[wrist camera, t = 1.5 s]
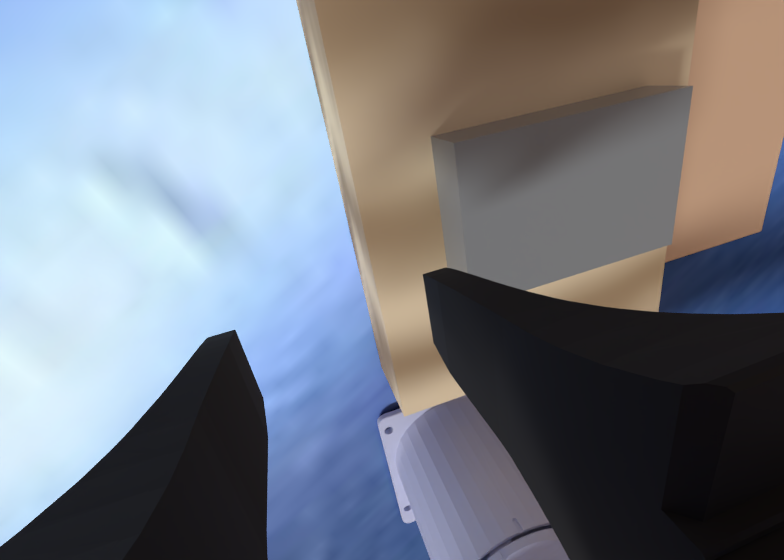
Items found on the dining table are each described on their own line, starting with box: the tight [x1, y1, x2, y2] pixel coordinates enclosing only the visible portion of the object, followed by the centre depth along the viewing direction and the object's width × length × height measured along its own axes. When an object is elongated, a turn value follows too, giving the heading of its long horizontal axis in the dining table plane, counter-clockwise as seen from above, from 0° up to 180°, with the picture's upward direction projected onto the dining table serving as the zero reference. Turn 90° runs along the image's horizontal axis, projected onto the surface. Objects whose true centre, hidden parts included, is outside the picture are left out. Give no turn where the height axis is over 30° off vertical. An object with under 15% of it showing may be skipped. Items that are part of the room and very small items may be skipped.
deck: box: [296, 0, 699, 417], centre depth 19 cm, size 18×14×4 cm
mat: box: [665, 0, 784, 262], centre depth 23 cm, size 16×11×1 cm
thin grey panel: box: [431, 86, 693, 291], centre depth 16 cm, size 6×9×2 cm, turn 100°
